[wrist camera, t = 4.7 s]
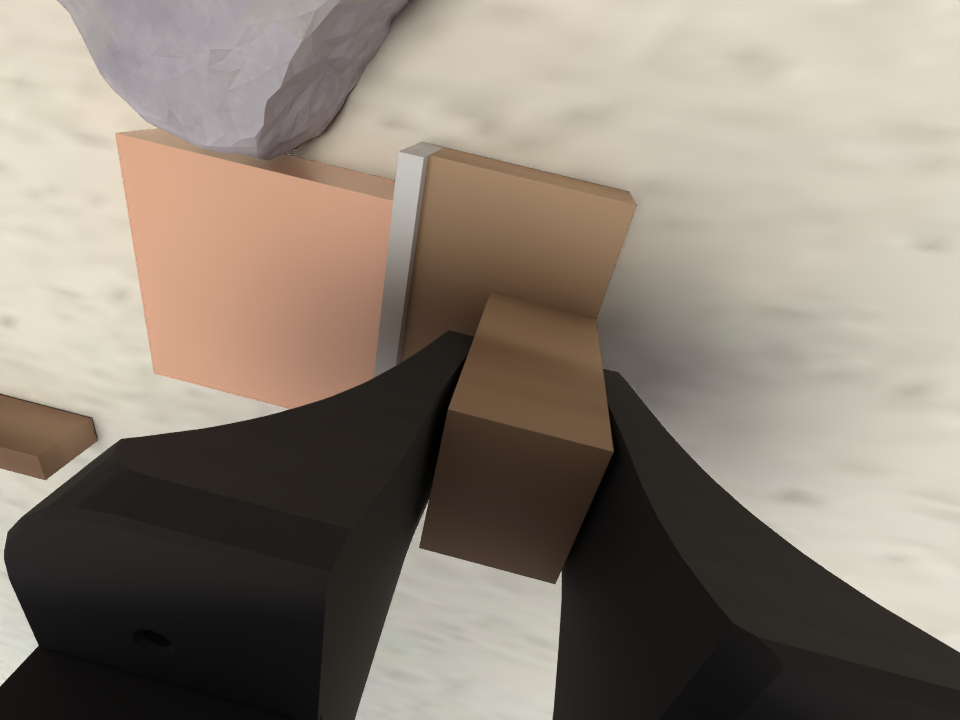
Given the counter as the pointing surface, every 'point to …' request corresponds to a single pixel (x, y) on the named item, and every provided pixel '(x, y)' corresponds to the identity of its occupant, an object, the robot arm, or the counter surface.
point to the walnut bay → (40, 437)
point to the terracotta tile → (256, 267)
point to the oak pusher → (506, 346)
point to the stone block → (234, 64)
